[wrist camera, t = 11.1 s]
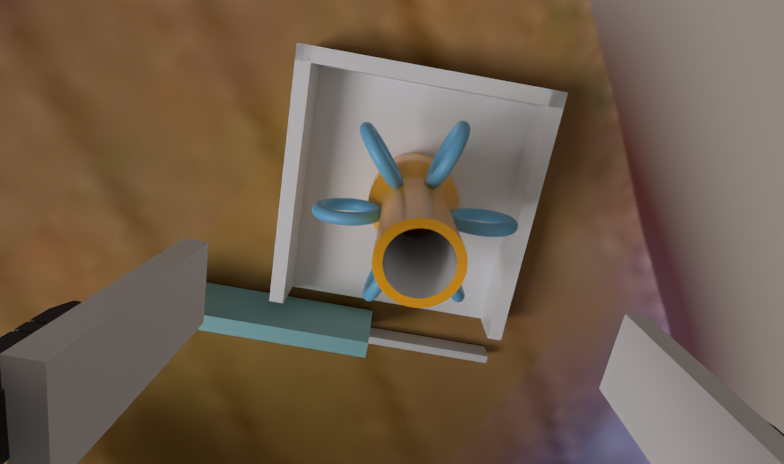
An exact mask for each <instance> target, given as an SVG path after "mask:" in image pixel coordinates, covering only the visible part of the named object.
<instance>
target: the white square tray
mask: <svg viewBox="0 0 784 464" xmlns="http://www.w3.org/2000/svg"><path fill="white" fill-rule="evenodd" d="M567 95H568V92H563V91H557V90H552V89H546V88H541V87H535V86H530V85H525V84H519V83H514V82H508V81H503V80H497V79H492V78H487V77H481V76H476V75H470V74H465V73H459V72H454V71H449V70H443V69H438V68H432V67H427V66H421V65H416V64H410V63H405V62H400V61H394V60H389V59H383V58H378V57H372V56H367V55H362V54H356V53H351V52H345V51H340V50H334V49H329V48H324V47H318V46H313V45H307V44H302V43H297V45H296V54H295V64H294V73H293V82H292V92H291V101H290V110H289V120H288V129H287V138H286V148H285V157H284V166H283V176H282V185H281V194H280V204H279V213H278V222H277V232H276V241H275V250H274V260H273V269H272V278H271V288H270V297H269V301H272V302H278V303H283V302H284V301H285V299H286V297H287V296H288V294H289V292H290V291H291V289H292V287H299V288H305V289H311V290H317V291H323V292H329V293H334V294H340V295H346V296H352V297H358V298H363V295H362V293H363V288H364V285H365V282H366V280H367V278H368V275H369V273H370V271H371V269H372V256H373V251H374V246H375V240H376V235H377V231H376V229H375V228H374V226H373V224H368V225H358V226H348V225H337V224H331V223H327V222H324V221H321V220H319V219H317V218H316V217H315V216H314V215H313V213H312V207H313V205H314V204H315V203H316V202H318V201H320V200H324V199H330V198H353V199H361V200H366V201H368V198H369V193H370V190H371V187H372V184H373V181H374V179H375V177H376V175H377V173H378V171H379V170H378V169H377V167H376V165H375V163H374V162H373V160H372V158H371V156H370V154H369V152H368V150H367V148H366V146H365V144H364V142H363V139H362V137H361V134H360V126H361V124H362V123H364V122H370V123H371V124H373V126H374V127H375V128H376V130H377V131H378V133H379V134H380V136H381V137H382V139H383V141H384V143H385V144H386V146H387V148H388V150H389V152H390V153H391V155H392V157H393V158H394V157H397V156H399V155H402V154H407V153H419V154H424V155H427V156H429V157H432V158H433V159H434V157H435V155H436V153H437V152H438V150H439V148H440V146H441V145H442V143H443V141H444V140H445V138H446V137H447V135H448V134H449V132H450V131H451V129H452V128H453V127H454V126H455V125H456V124H457V123H458V122H460V121H466V122H468V123H469V125H470V129H471V130H470V135H469V138H468V141H467V143H466V146H465V148H464V150H463V152H462V154H461V156H460V158H459V159H458V161H457V163H456V165H455V166H454V168H453V169H452V171H451V173H450V174H449V175H450V176H451V178H452V180H453V181H454V183H455V185H456V187H457V190H458V194H459V200H460V208H459V209H461V208H476V209H486V210H492V211H496V212H500V213H504V214H507V215H509V216H511V217H513V218H514V219H515V220H516V221H517V223H518V229H517V231H516V232H515V233H513V234H512V235H509V236H504V237H484V236H476V235H471V234H466V233H463V232H460V231H458V232H459V234H460V237H461V239H462V241H463V244H464V246H465V249H466V252H467V258H468V267H467V273H466V276H465V279H464V281H463V283H462V287H463V290H464V293H465V298H464V300H463V301H461V302H455V301H454V300H453V299H452V298H451V297H450V298H449V299H447V300H446V301H444V302H442V303H440V304H438V305H435V306H431V307H426V308H422V309H428V310H434V311H440V312H446V313H452V314H457V315H463V316H469V317H475V318H480V319H481V321H482V324H483V327H484V330H485V333H486V336H487V338H490V339H496V340H501V338H502V334H503V331H504V327H505V323H506V319H507V316H508V312H509V308H510V305H511V301H512V297H513V294H514V290H515V286H516V283H517V279H518V275H519V272H520V268H521V264H522V261H523V257H524V253H525V250H526V246H527V242H528V238H529V235H530V231H531V227H532V224H533V220H534V216H535V213H536V209H537V205H538V202H539V198H540V194H541V191H542V187H543V183H544V180H545V176H546V172H547V169H548V165H549V161H550V157H551V154H552V150H553V146H554V143H555V139H556V135H557V132H558V128H559V124H560V121H561V117H562V113H563V110H564V106H565V102H566V99H567ZM336 211H344V212H359V211H351V210H336ZM470 221H474V220H470ZM475 222H482V223H489V222H484V221H475ZM374 300H375V301H381V302H387V303H393V304H399V303H397V302H395V301H393V300H392V299H390V298H389V297H388V296H387V295H385V294H384V293H383V291H381V293H380V294H379V295H378V296H377V298H376V299H374ZM399 305H401V304H399ZM368 343H369V344H375V345H381V346H387V347H393V348H399V349H405V350H411V351H417V352H423V353H429V354H434V355H440V356H446V357H452V358H458V359H464V360H470V361H476V362H482V363H486V361H487V357H488V356H487V353H486V350H485V347H484V346H478V345H472V344H466V343H460V342H454V341H448V340H442V339H436V338H431V337H425V336H419V335H413V334H407V333H401V332H395V331H389V330H383V329H377V328H371V327H370V333H369V340H368Z"/></svg>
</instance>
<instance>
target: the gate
mask: <svg viewBox="0 0 784 464" xmlns="http://www.w3.org/2000/svg"><path fill="white" fill-rule="evenodd" d="M269 297H270V293H266V292H260V291H254V290H249V289H243V288H237V287H231V286H225V285H219V284H213V283H207V282H206V290H205V306H204V321H203V324H202V325H201V326H200V327H199V328H198V329H197V330H203V331H209V332H214V333H220V334H226V335H232V336H238V337H244V338H250V339H256V340H262V341H268V342H274V343H280V344H286V345H292V346H298V347H304V348H310V349H316V350H322V351H328V352H334V353H340V354H346V355H352V356H358V357H364V358H365V357H366V352H367V346H368V340H369V333H370V326H371V319H372V313H373V311H372V310H366V309H360V308H354V307H348V306H343V305H337V304H331V303H325V302H319V301H313V300H307V299H301V298H296V297H290V296H287V297H286V299H285V301H284V302H283V303H278V302H272V301H269Z"/></svg>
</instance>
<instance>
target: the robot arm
mask: <svg viewBox="0 0 784 464" xmlns="http://www.w3.org/2000/svg"><path fill="white" fill-rule="evenodd" d="M208 244H209V243H208V242H202V241H197V240H191V239H185V238H183V239H182V240H180V241H179V242H177V243H175V244H174V245H172V246H171V247H169V248H167V249H166V250H164V251H163V252H161V253H159V254H158V255H156V256H155V257H153V258H152V259H150V260H148V261H147V262H145V263H144V264H142V265H140V266H139V267H137V268H136V269H134V270H132V271H131V272H129V273H128V274H126V275H124V276H123V277H121V278H120V279H118V280H117V281H115V282H113V283H112V284H110V285H109V286H107V287H105V288H104V289H102V290H101V291H99V292H97V293H96V294H94V295H93V296H91V297H90V298H88V299H86V300H85V301H83V302H79V301H71V302H68V303H65V304H62V305H59V306H56V307H53V308H50V309H48V310H46V311H45V312H43V313H41V314H39V315H38V316H36V317H34V318H33V319H31V320H30V322H26V323H24V324H22V325H21V326H19V327H17V328H16V329H15V330H14V332H9V333H7V334H6V335H4V336H2V337H0V464H3V463H5V462H6V461H7V464H78V462H79V461H80V460H81V459H82V458H83V457H84V456H85V455H86V454H87V452H88V451H89V450H90V449H91V448H92V447H93V446H94V445H95V443H96V442H97V441H98V440H99V439H100V438H101V437H102V436H103V435H104V433H105V432H106V431H107V430H108V429H109V428H110V427H111V426H112V424H113V423H114V422H115V421H116V420H117V419H118V418H119V417H120V416H121V414H122V413H123V412H124V411H125V410H126V409H127V408H128V407H129V405H130V404H131V403H132V402H133V401H134V400H135V399H136V398H137V396H138V395H139V394H140V393H141V392H142V391H143V390H144V389H145V388H146V386H147V385H148V384H149V383H150V382H151V381H152V380H153V379H154V377H155V376H156V375H157V374H158V373H159V372H160V371H161V370H162V369H163V367H164V366H165V365H166V364H167V363H168V362H169V361H170V360H171V358H172V357H173V356H174V355H175V354H176V353H177V352H178V351H179V350H180V348H181V347H182V346H183V345H184V344H185V343H186V342H187V341H188V339H189V338H190V337H191V336H192V335H193V334H194V333H195V332H196V331H197V329H198V328H199V327H200V326H201V325H202V324H203V321H204V306H205V290H206V275H207V260H208ZM599 389H600V391H601V392H602V394H603V395H604V397H605V398H606V399H607V401H608V402H609V404H610V405H611V407H612V408H613V410H614V411H615V413H616V414H617V416H618V417H619V418H620V420H621V421H622V423H623V424H624V426H625V427H626V429H627V430H628V432H629V433H630V434H631V436H632V437H633V439H634V440H635V442H636V443H637V445H638V446H639V448H640V449H641V451H642V452H643V453H644V455H645V456H646V458H647V459H648V461H649V462H650V464H784V434H783V433H781V432H780V431H779V430H778V429H777V428H776V427H774V426H773V425H771V424H770V423H768V422H767V421H766V420H764V419H763V418H762V417H761V416H760V415H759V414H758V413H756V412H755V411H754V410H753V409H752V408H751V407H750V406H749V405H747V404H746V403H745V402H744V401H743V400H742V399H741V398H739V397H738V396H737V395H736V394H735V393H734V392H732V391H731V390H730V389H729V388H728V387H727V386H726V385H725V384H723V383H722V382H721V381H720V380H719V379H718V378H717V377H715V376H714V375H713V374H712V373H711V372H710V371H709V370H708V369H706V368H705V367H704V366H703V365H702V364H701V363H700V362H698V361H697V360H696V359H695V358H694V357H693V356H692V355H690V354H689V353H688V352H687V351H686V350H685V349H684V348H683V347H681V346H680V345H679V344H678V343H677V342H676V341H675V340H673V339H672V338H671V337H670V336H669V335H668V334H667V333H665V332H664V331H663V330H662V329H661V328H660V327H659V326H657V325H656V324H655V323H654V322H653V321H652V320H651V319H650V318H647V317H641V316H635V315H629V314H625V316H624V319H623V321H622V324H621V327H620V330H619V333H618V336H617V339H616V342H615V344H614V347H613V350H612V353H611V356H610V359H609V362H608V364H607V367H606V370H605V373H604V376H603V379H602V382H601V384H600V387H599Z"/></svg>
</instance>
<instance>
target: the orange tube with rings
mask: <svg viewBox="0 0 784 464" xmlns="http://www.w3.org/2000/svg"><path fill="white" fill-rule="evenodd" d="M470 130H471V129H470V125H469V123H468V122H466V121H460V122H458V123H457V124H456V125H455V126H454V127H453V128H452V129H451V131H450V132H449V134H448V135H447V137H446V138H445V140H444V141H443V143H442V145H441V146H440V148H439V150H438V152H437V153H436V155H435V157H434V159H433V158H432V157H429V156H427V155H424V154H419V153H407V154H402V155H399V156H397V157H394V158H393V157H392V155H391V153H390V152H389V150H388V148H387V146H386V144H385V143H384V141H383V139H382V137H381V136H380V134H379V133H378V131H377V130H376V128H375V127H374V126H373V124H371V123H370V122H364V123H362V124H361V126H360V134H361V137H362V139H363V142H364V144H365V146H366V148H367V150H368V152H369V154H370V156H371V158H372V160H373V162H374V163H375V165H376V167H377V169H378V170H379V171H378V173H377V175H376V177H375V179H374V181H373V184H372V187H371V190H370V193H369V198H368V201H366V200H361V199H353V198H330V199H324V200H320V201H318V202H316V203H315V204H314V205H313V207H312V213H313V215H314V216H315V217H316V218H317V219H319V220H321V221H324V222H327V223H331V224H337V225H348V226H358V225H368V224H373V226H374V228H375V229H376V231H377V235H376V240H375V246H374V251H373V256H372V269H371V271H370V273H369V275H368V278H367V280H366V282H365V285H364V288H363V293H362V295H363V298H364V299H365V300H366V301H373V300H374V299H376V298H377V296H378V295H379V294H380V293H381V291H383V293H384V294H385V295H387V296H388V297H389V298H390V299H392V300H393V301H395V302H397V303H399V304H401V305H404V306H408V307H413V308H426V307H431V306H435V305H438V304H440V303H442V302H444V301H446V300H447V299H449V298H450V297H451V298H452V299H453V300H454V301H455V302H461V301H463V300H464V298H465V293H464V290H463V287H462V283H463V281H464V279H465V276H466V273H467V267H468V258H467V252H466V249H465V246H464V244H463V241H462V239H461V237H460V234H459V232H458V231H460V232H463V233H466V234H471V235H476V236H484V237H504V236H509V235H512V234H513V233H515V232H516V231H517V229H518V223H517V221H516V220H515V219H514V218H513V217H511V216H509V215H507V214H504V213H500V212H496V211H492V210H486V209H476V208H461V209H459V208H460V200H459V194H458V190H457V187H456V185H455V183H454V181H453V180H452V178H451V176H450V175H449V174H450V173H451V171H452V169H453V168H454V166H455V165H456V163H457V161H458V159H459V158H460V156H461V154H462V152H463V150H464V148H465V146H466V143H467V141H468V138H469V135H470ZM336 210H351V211H359V212H344V211H336ZM470 220H474V221H470ZM475 221H484V222H489V223H482V222H475Z"/></svg>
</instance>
